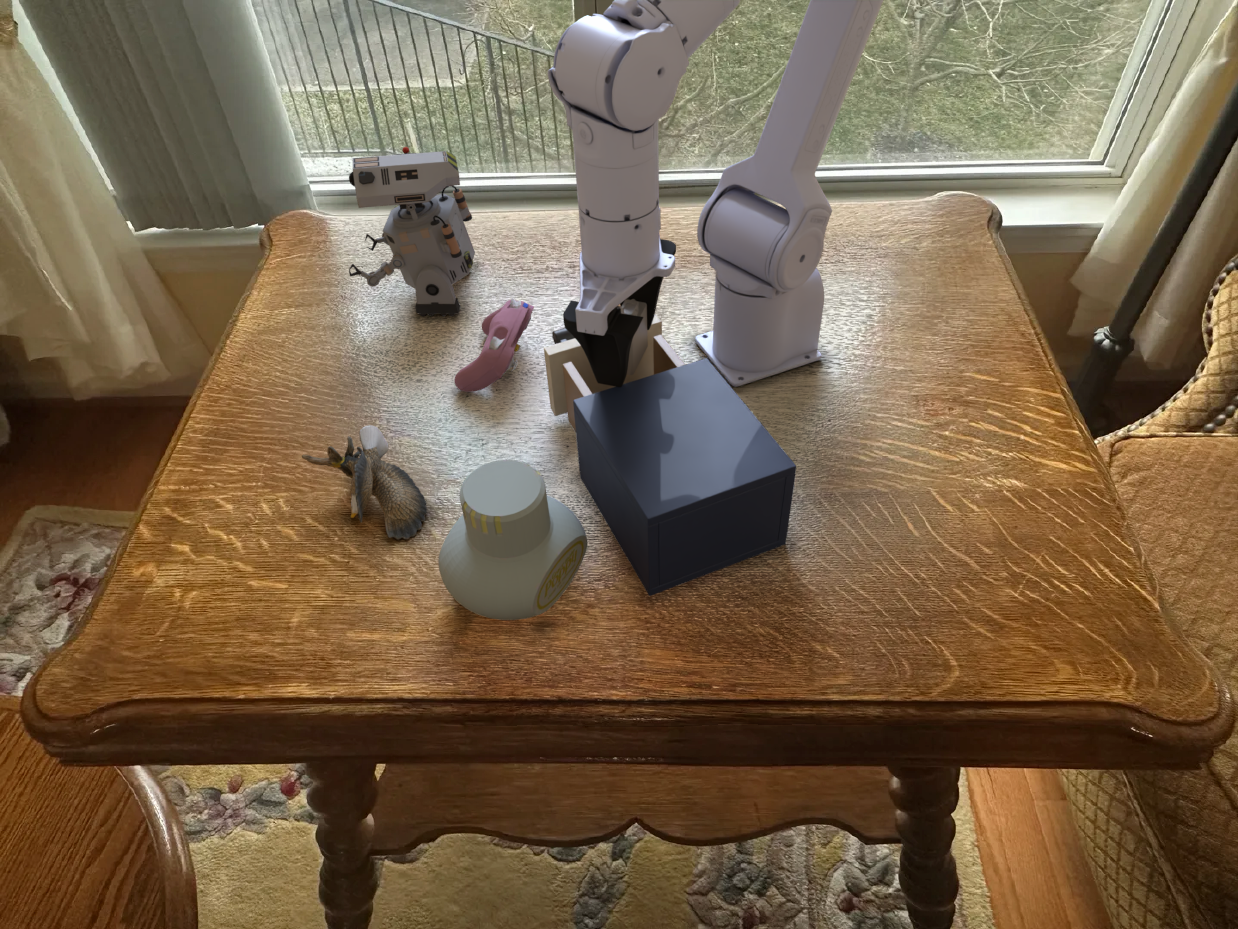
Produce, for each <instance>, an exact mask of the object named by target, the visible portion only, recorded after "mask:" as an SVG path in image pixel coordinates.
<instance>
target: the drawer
mask: <svg viewBox="0 0 1238 929" xmlns="http://www.w3.org/2000/svg"><path fill="white" fill-rule="evenodd" d="M551 337H552V341H553V343H554V344H551V345H548V346H544V347H543V354H544V363H545V372H546V381H547V388H548V397H549V405H550V406H549V407H550V410H551V411H552V413H553V415H554V417H557V416H561V415H564V414H567V422H568V423H569V424H570V426H571V428H572V429H573V431H574V432H575V434H576V428H575V417H574V406H573V400H575V399H578V398H581V397H584V396H587V395H591V394H594V393H597V392H600V391H603V390H606V389H610V388H613V387H616V386H610V385H605V384H599V383H598V382H597V380H596V378H595V376H594V374H593V371H592V368H591V366H590V363H589V361H588V359H587V356H586V354H585V352H584V350H583V348H582V347H581V345H580V344H579V342H578V341H577V340H576V339H575V338H574V336H573V335H572V334H571V333H570V332H569V331H568V330H567V329H566V328H565V327H563V328H560V329H557V330H553V331H552V333H551ZM647 342H648V347H647V349H646V351H645V353H644V355H643V357H642V359H641V361H640V363H639V365H638V367H637V369H636V371H635V373H634V374H633V375H627V374H626V378H625V381H624V383H623V384H626V383H629V382H632V381H635V380H638V379H641V378H645V377H648V376H651V375H654V374H657V373H661V372H664V371H667V370H670V369H673V368H676V367H680V366H683V365H686V363H685V362H684V361H683V359H682V358H681V357H680V356H679V355H678V353H677V351H675V349H673V347H672V346H671V345H670V342H668V340H667V339H666V338H665V337H664V336H663V321H662V319H660V317H659V316H658V315H657V314H655V315H654V319H653V322H652V325H651V327H650V329H649V330H647Z"/></svg>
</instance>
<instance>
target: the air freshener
mask: <svg viewBox="0 0 1238 929" xmlns="http://www.w3.org/2000/svg"><path fill="white" fill-rule="evenodd" d="M458 496H459V501H460V507H461V511H462V514H461V515H460V517H459V518H458V519H457V520H456V522H455V523H454V524H453V526H452V527H451V529H450V530H449V532H448V534H447V535H446V537H445V538H444V541H443V543H442V544H441V548H440V550H439V554H438V560H437V563H438V570H439V575H440V578H441V581H442V583H443V585H444V587H445V588H446V590H447V592H448V593H449V594H450V596H451V597H452V598H453V599H454V600H455V601H456V602H457V603H458V604H460V606H462V607H464V608H465V609H466V610H468V611H470V612H471V613H474V614H476V615H478V616H481V617H484V618H488V619H491V620H497V621H498V620H500V621H519V620H525V619H529V618H533V617H537V616H539V615H542V614H544V613H546V612H547V611H549V609H551V608H552V607H553V606H554V605H555V604H556V603H557V602H558V601H559V599H560V598H561V597H563V594H564V593H565V592H566V590H567V589H568V588H569V587H570V584H571V583H572V581H573V580H574V578H575V577H576V575H577V574H578V571H579V570H580V567H581V565H582V563H583V561H584V559H585V556H586V553H587V549H588V537H587V533H586V530H585V528H584V525H583V524H582V522H581V520H580V519H579V517H577V515H576V514H575V512H574V511H572V510H571V509H570V507H568V506H567V505H566V504H564V503H563V502H561V501H560V500H558V499H557V498H555V497H553V496H550V495H548V493H547V488H546V482H545V479H544V477H543V475H542V474H541V473H540V471H539V470H538V469H536V468H535V467H533V466H531V465H530V464H529V463H526V462H524V461H518V460H515V459H499V460H494V461H490V462H486V463H485V464H482V465H480V466H479V467H477V468H475V469H474V470H472V472H470V473H469V474H468V475H467V476H466V478H464V480H463V481H462V484H461V486H460V489H459V495H458Z"/></svg>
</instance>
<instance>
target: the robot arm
mask: <svg viewBox="0 0 1238 929" xmlns="http://www.w3.org/2000/svg"><path fill="white" fill-rule="evenodd" d="M740 3H741V0H613V1H612V3H611V4H610V5H609V6H608V7H607V8H606V9H605V10H604V12H603V14H599V13H592V15H584V16H583V17H581V18H579V19H577V21H575V22H573V23H572V24H571V25H569V26H568V27H567V28H566V29H565V31H564V32H563V33H562V34H561V36H560V38H559V39H558V42H557V44H556V47H555V50H554V53H553V61H552V62H553V63H552V65H553V66H552V67H551V68H549V69H548V70H547V79H548V83H549V86H550V89H551V90H552V93H553V94H554V95H555V97H556V98H557V99H558V100H559V101H560V102H561V103H562V105H563V107H564V110H565V115H566V125H567V126H568V127H569V128H570V129H571V130H572V143H573V144H572V145H573V155H574V157H573V158H574V170H575V181H576V196H577V206H578V207H577V209H578V222H579V235H580V246H581V247H580V248H581V250H580V253H579V262H578V263H579V300H578V301H576V300H570V301H569V303H568V305H567V306H566V308H565V309H564V311H563V314H562V318H563V319H562V320H563V325H564V328H566V329H567V330H568V331H569V332H570V333H571V334H572V335H573V336H574V338H575V339H576V340H577V341H578V342H579V344H580V345H581V347H582V348H583V350H584V352H585V354H586V356H587V359H588V361H589V363H590V366H591V368H592V371H593V374H594V376H595V378H596V380H597V382H598V383H599V384H605V385H610V386H616V387H622V385H623V383H624V381H625V378H626V374H627V370H628V362H629V353H630V348H631V343H632V340H633V337H634V335H635V333H636V331H637V330H638V328H639V326H640V324H641V322H642V319H643V317H640V316H634V315H628V314H622V313H621V309H620V308H618V309H617V306H621V307H622V305H623V303H624V301H625V300H631V299H635V301H638V302H644V303H646V304H647V330H649V329H650V327H651V325H652V322H653V319H654V315H656V309H657V305H658V302H659V301H658V300H659V296H660V290H661V287H662V283H663V280H664V278H667V277H670V276H671V275H672V273H673V272H674V269H675V267H676V256H675V255H676V253H677V244H676V243H675V242H673V241H672V240H668V239H663V238H661V235H660V231H661V230H662V228H661V227H662V224H661V223H662V222H661V221H662V220H661V216H662V215H661V213H662V212H661V210H662V208H661V207H660V169H659V168H660V162H659V161H660V160H659V156H660V155H659V154H660V152H659V151H660V150H659V149H660V148H659V147H660V146H659V141H660V140H659V138H660V136H659V120H660V119H662V118H663V117H664V116H665V115H666V114H667V113H668V111H669V110H670V108H671V106H672V104H673V102H674V99H675V97H676V95H677V94H676V93H677V91H678V87H679V84H680V81H681V79H682V77H683V76H684V75H685V74H686V73H687V68H688V67H689V65H690V61H689V58H690V57H692V56H693V55H694V53H695V52H696V51H697V50H698V49H699V48H700V47H701V46H702V45H703V44H704V43H705V41H706V40H708V38H709V37H710V36H711V35H712V34H713V33H714V32H715V31H716V30H717V29H718V28H719V26H721V24H723V23H724V22H725V20H726V19H727V18H728V17H729V16H730V15H731V13H732V12H733V11H734V10H735V9H736V8H737V7H738V6H739V5H740ZM883 3H884V0H809V3H808V6H807V9H806V12H805V14H804V17H803V20H802V22H801V25H800V28H799V29H798V30H799V31H798V33H797V36H796V39H795V41H794V44H793V47H792V50H791V52H790V55H789V58H788V61H787V63H786V66H785V69H784V71H783V74H782V77H781V80H780V82H779V86H778V88H777V91H776V94H775V96H774V98H773V102H772V104H771V107H770V110H769V113H768V116H767V117H766V121H765V123H764V126H763V129H762V132H761V135H760V137H759V140H758V143H757V146H756V148H755V151H754V153H753V155H751V156H749V157H747V158H745V159H742V160H740V161H738V162H735V163H733V164H731V165H728V166H727V167H726V168H724V169H723V171H722V173H721V177H720V179H719V181H718V184H717V186H716V188H715V189H714V191H713V192H712V195H711V196H710V197H709V198H708V199H707V201H706V202H705V204H704V206H703V207H702V209H701V212H700V215H699V218H698V222H697V229H696V231H697V232H696V236H697V242H698V246H700V249H702V251H704V252H706V253H707V254H709V267H711V268H712V269H713V270H714V272H715V280H714V299H713V300H714V302H713V303H714V304H713V326H712V327H713V328H712V330H711V331H708V332H705V333H701V334H698V335H695V338H694V341H695V343H696V345H697V346H698V347H699V349H701V351H702V352H703V353H704V354H705V355H706V356H707V359H708V360H709V361H710V362H711V363H712V365H713V366H714V367H715V368H716V369H717V371H718V372H719V373H720V374H721V375H722V377H723V378H724V379H725V380H726V381H727V383H728V384H729V385H730V386H731V387H740V386H744V385H746V384H750V383H753V382H756V381H759V380H762V379H766V378H768V377H771V376H774V375H778V374H781V373H785V372H787V371H791V370H792V369H796V368H799V367H801V366H802V367H803V366H805V365H808V364H811V363H814V362H818V361H820V360H821V359H822V353H821V351H820V350H819V349H818V348H819V341H820V340H819V339H820V333H821V326H822V319H823V312H824V305H825V288H824V282H823V279H822V276H821V274H820V272H819V268H817V267H818V265H819V263H820V261H821V258H822V255H823V252H824V248H825V247H824V246H825V236H826V231H827V228H828V224H829V221H830V218H831V216H832V213H833V209H832V206H831V203H830V202H829V199H828V198H827V196H826V195H825V192H824V191H823V189H822V187H821V185H820V183H819V181H818V179H817V177H816V172H817V169H818V167H819V165H820V162H821V159H822V157H823V154H824V151H825V149H826V147H827V145H828V143H829V142H828V141H829V139H830V137H831V134H832V131H833V129H834V126H835V124H836V121H837V119H838V117H839V114H840V111H841V109H842V106H843V104H844V101H845V99H846V97H847V94H848V91H849V89H850V86H851V83H852V81H853V79H854V76H855V74H856V71H857V68H858V66H859V63H860V61H861V58H862V56H863V53H864V50H865V49H866V48H865V47H866V45H867V43H868V40H869V38H870V36H871V34H872V30H873V29H874V28H873V27H874V26H875V23H876V20H877V18H878V16H879V13H880V10H881V8H882V6H883ZM757 194H758V195H757ZM759 195H760V196H759ZM765 198H766V199H765ZM768 199H769V200H771V201H769V200H768ZM772 201H773V202H772ZM776 203H777V204H776ZM778 204H779V205H778Z"/></svg>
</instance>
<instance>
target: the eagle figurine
mask: <svg viewBox="0 0 1238 929" xmlns="http://www.w3.org/2000/svg"><path fill="white" fill-rule="evenodd" d="M358 434H359V435H358V436H359V440H360V443H361V447H360V446H357V447H356V452H355V453H354V451H355V446H354V440H353V438H352V437H351V436H349V435H348V436H347V447H346V451H345V452H344V456H341V454H340V453H339V452H338V451H337V450H336V449H335V448H334V447H333V446H331V445H328V447H327V450H326V452H327V456H328V457H318V456H313V455H310V454H302V455H301V458H302V459H303V460H305V461H307V462H308V463H310V464H312V465H317V466H326V467H330V468H333V469H338V470H339V471H342V473H343V474H344V475H346V477H348V478H350V479H351V484H350V485H351V486H350V491H351V493H350V495H351V501H350V508H351V515H350V518H351V519H354V518H355V517H356V515H357V516H358V521H359V523H361V524H362V523H363V515H364V512H365V509H366V508H367V505H368V503H369V502H370V501H371V500H370V499H371V497H372V496H373V497H375V498H376V500H377V501H378V504H379V506H380V508H381V510H382V513H383V516H384V519H383V520H384V526H385V532H386V535H387V537H388V538H389V539H392V538H394V539H396V540H401V539H404V540H409V539H410V538H411V537H415V536H416V535H417V531H420V530H421V529H422V525H423V524H422V522H425V521H426V517H425V516H426V515H428V507H427V501H426V500H425V495H423V493H422V491H421V490H420V488H419V487H418V485H416V482H415V481H414V480H413V479H412V478H411V476H410V475H409V474H408V473H407V472H406V471H405V470H404V469H402V468H401V467H400V466H397V465H395V464H391V463H390V462H386V461H385V460H382V458H383V457H384V456H385V455H386V454H387V453H388V452H389V444H388V441H387V439H386V438H385V436H384V433H383V432H382V430H380V428H379V427H378V426H377V425H376V426H375V425H372V424H370V425H369V424H368V425H365V426H363V427H361V428H360V430H359V433H358Z"/></svg>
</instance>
